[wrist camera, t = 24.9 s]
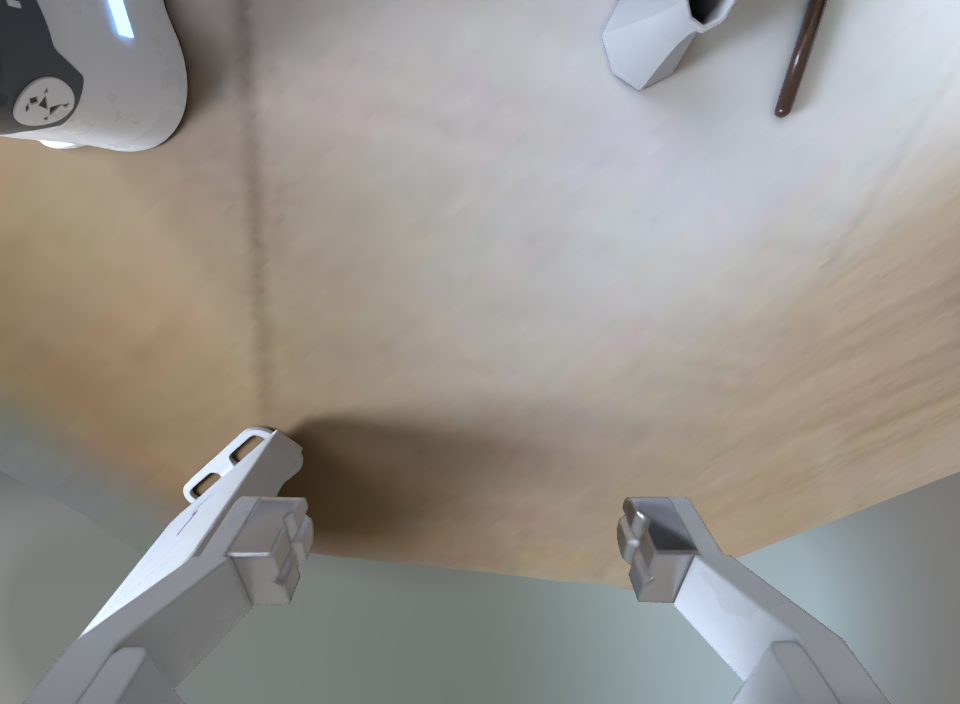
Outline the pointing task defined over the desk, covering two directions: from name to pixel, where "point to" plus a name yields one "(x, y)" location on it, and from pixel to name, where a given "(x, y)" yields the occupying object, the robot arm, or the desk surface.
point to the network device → (210, 509)
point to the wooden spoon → (800, 56)
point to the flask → (656, 35)
